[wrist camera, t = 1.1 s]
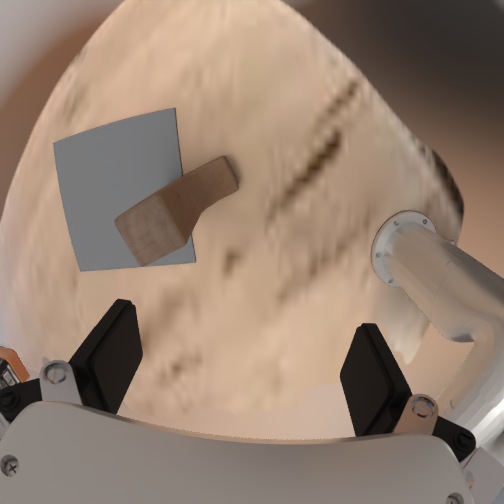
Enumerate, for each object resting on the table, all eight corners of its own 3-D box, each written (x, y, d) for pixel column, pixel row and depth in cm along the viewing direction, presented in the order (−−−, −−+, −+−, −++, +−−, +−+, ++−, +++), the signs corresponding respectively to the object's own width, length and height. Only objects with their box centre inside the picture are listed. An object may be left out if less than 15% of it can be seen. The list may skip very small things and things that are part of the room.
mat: (175, 108, 32) (174, 107, 32) (196, 261, 41) (195, 262, 40) (54, 143, 33) (53, 143, 33) (81, 270, 41) (80, 271, 41)
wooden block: (224, 154, 35) (214, 162, 18) (239, 184, 36) (243, 219, 20) (165, 185, 36) (110, 221, 19) (180, 214, 37) (140, 270, 21)
